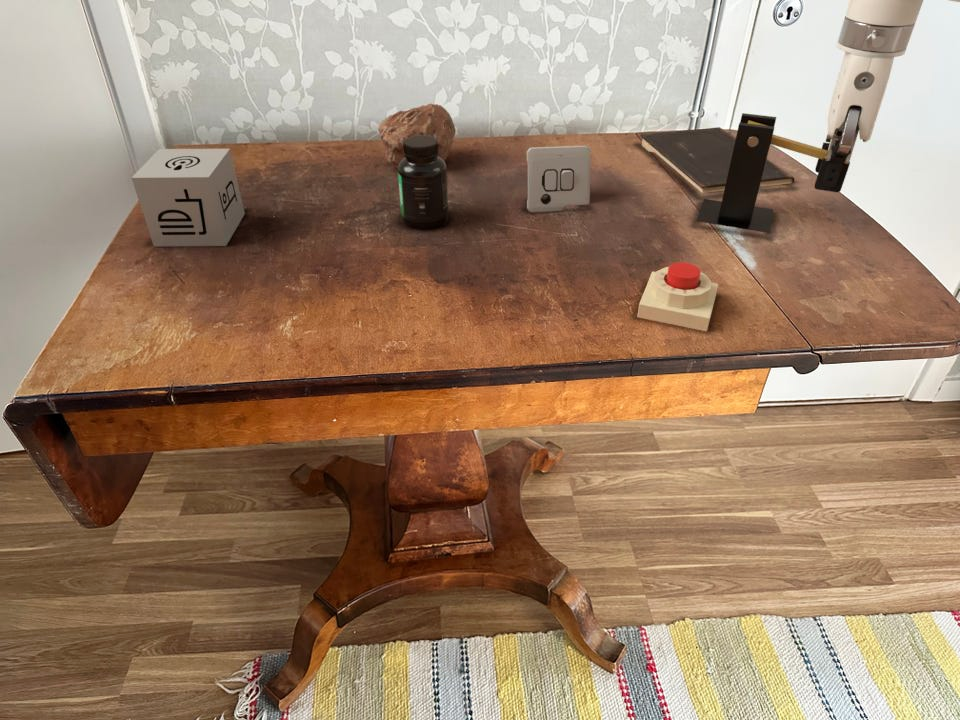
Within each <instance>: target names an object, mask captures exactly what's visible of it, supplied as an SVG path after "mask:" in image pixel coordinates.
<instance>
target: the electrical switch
mask: <svg viewBox="0 0 960 720" xmlns="http://www.w3.org/2000/svg"><path fill="white" fill-rule="evenodd" d="M591 157H592V151H591V148H590V147H589V146H588V145H564V146H562V145H561V146H537V147H536V146H535V147H529V148H528V149H527V150H526V162H527V199H526V209H527V211H528V212H529V213H548V212H549V213H550V212H562V211H563V210H564V209H565V207H566V206H584V205H586V206H587V205H590V199H591V197H590V196H591V159H592V158H591ZM545 196H547V198H546V200H545V201H544V200H543V197H545Z"/></svg>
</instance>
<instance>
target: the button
mask: <svg viewBox="0 0 960 720" xmlns="http://www.w3.org/2000/svg"><path fill="white" fill-rule="evenodd" d="M668 267H669V268H668V273H667V279H666V283H667V285H669V286H671V287H673V288H676V289H681V290H692V289H695V288H696V287H697V286H698V282H699V277H700V272H701V270H700V268H698V267H697V266H696V265H694V264H692V263H688V262H675V263H672V264H670V265H669V266H668Z"/></svg>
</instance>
